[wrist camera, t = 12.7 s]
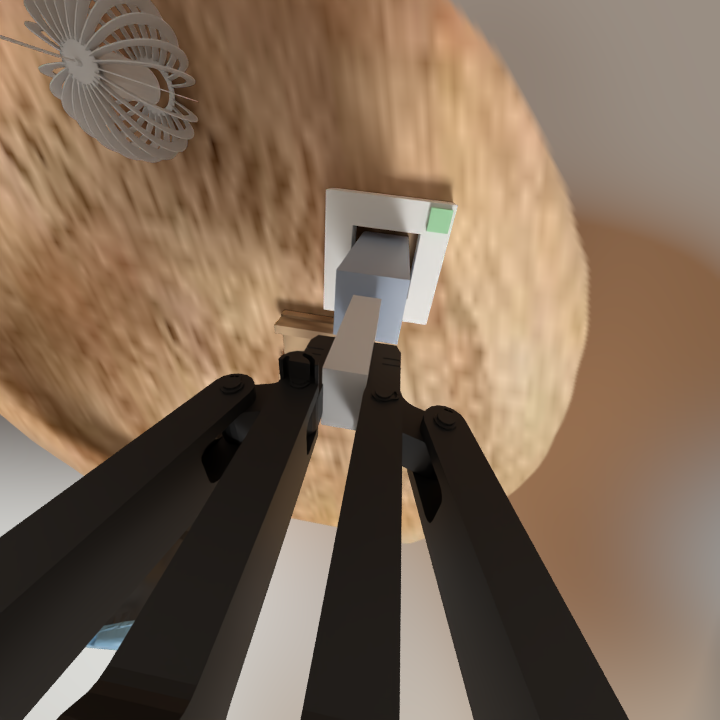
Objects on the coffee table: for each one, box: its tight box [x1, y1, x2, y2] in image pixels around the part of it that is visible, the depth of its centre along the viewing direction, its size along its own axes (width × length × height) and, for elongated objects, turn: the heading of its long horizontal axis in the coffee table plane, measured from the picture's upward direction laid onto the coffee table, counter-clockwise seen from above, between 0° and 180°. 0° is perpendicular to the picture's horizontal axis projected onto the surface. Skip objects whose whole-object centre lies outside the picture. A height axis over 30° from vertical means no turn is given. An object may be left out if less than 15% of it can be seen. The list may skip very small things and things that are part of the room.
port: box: [324, 188, 458, 325], centre depth 24 cm, size 10×10×3 cm
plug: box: [333, 231, 410, 344], centre depth 21 cm, size 4×4×12 cm
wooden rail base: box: [274, 310, 336, 380], centre depth 31 cm, size 8×8×3 cm
